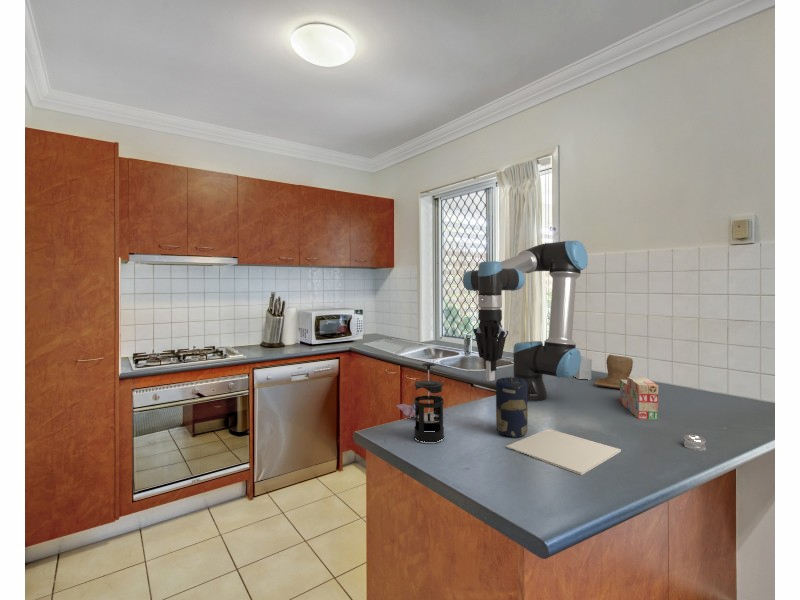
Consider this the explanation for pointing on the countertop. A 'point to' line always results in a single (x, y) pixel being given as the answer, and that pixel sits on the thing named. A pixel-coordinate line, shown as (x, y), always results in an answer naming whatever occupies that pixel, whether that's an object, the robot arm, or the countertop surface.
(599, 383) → the brown wooden stand
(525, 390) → the canister
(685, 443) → the grooved metal pulley
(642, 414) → the stack of blocks
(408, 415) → the rabbit figure
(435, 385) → the french press
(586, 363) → the skincare box
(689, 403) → the countertop surface
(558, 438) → the mat
